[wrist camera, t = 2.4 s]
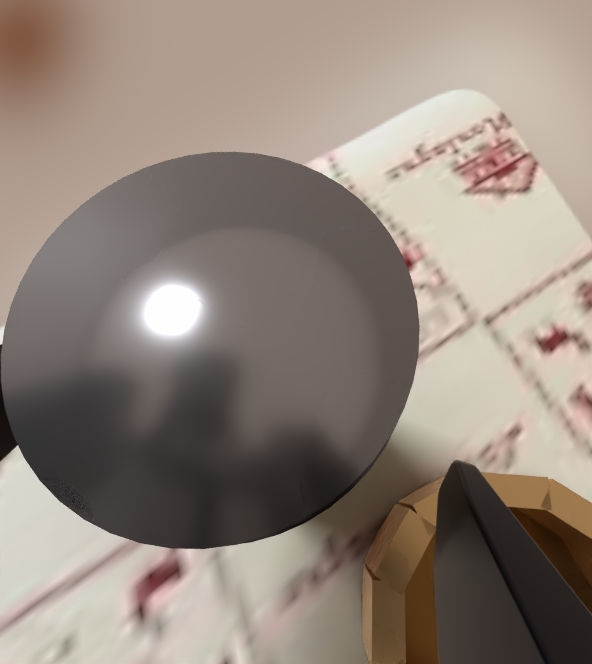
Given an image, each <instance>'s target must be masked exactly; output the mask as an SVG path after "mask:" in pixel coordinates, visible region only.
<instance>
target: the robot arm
mask: <svg viewBox="0 0 592 664" xmlns="http://www.w3.org/2000/svg"><path fill="white" fill-rule="evenodd" d="M1 351H2V345H0V461H1V460H3V459H4V458H5V457H6V456H7V455H8V454H9V453H10V452H11V451H12V450H13V449H14V448H15V447H16V446H17V445H18V444H17V442H16V440H15V437H14V435H13V433H12V430H11V427H10V423H9V420H8V417H7V413H6V410H5V406H4V399H3V392H2V385H1ZM434 585H435V603H436V621H437V639H438V657H439V664H592V614H591V613H590V612H589V610H588V609H587V608H586V606H585V605H584V604H583V603H582V601H581V600H580V599H579V598H578V596H577V595H576V594H575V592H574V591H573V590H572V589H571V587H570V586H569V585H568V584H567V582H566V581H565V580H564V578H563V577H562V576H561V575H560V573H559V572H558V571H557V569H556V568H555V567H554V566H553V564H552V563H551V562H550V561H549V559H548V558H547V557H546V555H545V554H544V553H543V552H542V550H541V549H540V548H539V546H538V545H537V544H536V543H535V541H534V540H533V539H532V538H531V536H530V535H529V534H528V532H527V531H526V530H525V529H524V527H523V526H522V525H521V524H520V522H519V521H518V520H517V518H516V517H515V516H514V515H513V513H512V512H511V511H510V509H509V508H508V507H507V506H506V504H505V503H504V502H503V501H502V499H501V498H500V497H499V495H498V494H497V493H496V492H495V490H494V489H493V488H492V486H491V485H490V484H489V483H488V481H487V480H486V479H485V478H484V476H483V475H482V474H481V472H480V471H479V470H478V469H477V468H476V466H474V465H472V464H469V463H466V462H463V461H459V460H455V461H454V462H453V463H452V464H451V466H450V468H449V470H448V472H447V474H446V476H445V478H444V480H443V482H442V484H441V486H440V489H439V492H438V501H437V518H436V534H435V550H434Z"/></svg>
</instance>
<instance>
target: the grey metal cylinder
mask: <svg viewBox="0 0 592 664" xmlns="http://www.w3.org/2000/svg"><path fill="white" fill-rule="evenodd" d="M418 351H419V318H418V308H417V300H416V296H415V292H414V288H413V284H412V280H411V276H410V274H409V271H408V269H407V266H406V264H405V261H404V259H403V256H402V254H401V252H400V250H399V249H398V247H397V245H396V244H395V242H394V240H393V238H392V237H391V235H390V233H389V232H388V231H387V229H386V228H385V227H384V225H383V224H382V223H381V222H380V220H379V219H378V218H377V216H376V215H375V214H374V213H373V212H372V211H371V210H370V209H369V208H368V207H367V206H366V205H365V204H364V203H363V202H362V201H361V200H360V199H359V198H357V197H356V196H355V195H354V194H352V193H351V192H350V191H348V190H347V189H346V188H344V187H343V186H342V185H340V184H339V183H337V182H335V181H333V180H332V179H330V178H328V177H327V176H325V175H323V174H322V173H319V172H317V171H315V170H312V169H310V168H308V167H306V166H303V165H301V164H297V163H294V162H291V161H288V160H285V159H281V158H278V157H272V156H266V155H262V154H255V153H242V152H213V153H212V152H211V153H205V154H196V155H189V156H184V157H180V158H176V159H171V160H167V161H164V162H161V163H158V164H155V165H152V166H149V167H146V168H143V169H141V170H139V171H137V172H135V173H133V174H130V175H128V176H126V177H124V178H122V179H120V180H118V181H117V182H115V183H113V184H112V185H110V186H108V187H106V188H105V189H103V190H102V191H100V192H99V193H97V194H96V195H95V196H93V197H92V198H90V199H89V200H88V201H86V202H85V203H84V204H82V205H81V206H80V207H79V208H78V209H77V210H76V211H74V212H73V213H72V214H71V215H70V216H69V217H68V218H67V219H66V220H64V222H63V223H62V224H61V225H60V226H59V227H58V228H57V230H55V232H54V233H53V234H52V235H51V236H50V237H49V238H48V239H47V241H46V242H45V244H44V245H43V246H42V248H41V249H40V251H39V252H38V253H37V255H36V256H35V258H34V259H33V260H32V262H31V264H30V266H29V268H28V269H27V272H26V273H25V275H24V277H23V278H22V281H21V282H20V285H19V287H18V290H17V292H16V294H15V297H14V299H13V302H12V304H11V307H10V311H9V315H8V318H7V322H6V326H5V329H4V336H3V344H2V351H1V385H2V392H3V399H4V406H5V410H6V413H7V417H8V420H9V423H10V427H11V430H12V433H13V435H14V437H15V440H16V442H17V444H18V446H19V448H20V450H21V452H22V454H23V456H24V458H25V460H26V461H27V463H28V464H29V465H30V467H31V468H32V470H33V471H34V473H35V474H36V476H37V477H38V478H39V480H40V481H41V482H42V483H43V484H44V485H45V486H46V487H47V488H48V489H49V490H50V492H51V493H52V494H53V495H54V496H55V497H56V498H57V499H58V500H59V501H60V502H61V503H63V504H64V505H65V506H67V507H68V508H70V509H71V510H72V511H74V512H75V513H76V514H78V515H79V516H80V517H82V518H83V519H84V520H86V521H88V522H90V523H92V524H94V525H96V526H98V527H100V528H102V529H104V530H106V531H107V532H109V533H112V534H115V535H118V536H121V537H124V538H127V539H130V540H133V541H136V542H139V543H143V544H149V545H155V546H161V547H167V548H185V549H206V548H214V547H222V546H229V545H237V544H242V543H249V542H254V541H257V540H261V539H264V538H268V537H271V536H275V535H278V534H281V533H283V532H285V531H288V530H290V529H292V528H294V527H297V526H299V525H301V524H303V523H306V522H307V521H309V520H310V519H312V518H314V517H315V516H317V515H318V514H320V513H322V512H323V511H325V510H326V509H328V508H330V507H331V506H332V505H333V504H334V503H336V502H337V501H338V500H339V499H340V498H342V497H343V496H344V495H345V494H346V493H348V492H349V491H350V490H351V489H352V488H353V487H354V486H355V485H356V484H357V483H358V482H359V481H360V479H361V478H362V477H363V476H364V475H365V474H366V473H367V472H368V471H369V470H370V468H371V467H372V465H373V464H374V462H375V461H376V460H377V458H378V457H379V455H380V454H381V452H382V451H383V449H384V448H385V446H386V445H387V443H388V441H389V439H390V437H391V434H392V432H393V430H394V428H395V426H396V424H397V422H398V420H399V418H400V416H401V414H402V412H403V410H404V407H405V404H406V401H407V398H408V395H409V392H410V389H411V386H412V384H413V380H414V375H415V369H416V364H417V358H418Z"/></svg>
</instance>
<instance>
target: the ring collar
mask: <svg viewBox="0 0 592 664" xmlns="http://www.w3.org/2000/svg"><path fill="white" fill-rule="evenodd" d="M481 474H482V475H483V476H484V478H485V479H486V480H487V481H488V483H489V484H490V485H491V486H492V488H493V489H494V490H495V492H496V493H497V494H498V495H499V497H500V498H501V499H502V501H503V502H504V503H505V504H506V506H507V507H508V508H509V509H510V511H511V512H512V513H513V515H514V516H515V517H516V518H517V520H518V521H519V522H520V524H521V525H522V526H523V527H524V529H525V530H526V531H527V532H528V534H529V535H530V536H531V538H532V539H533V540H534V541H535V543H536V544H537V545H538V546H539V548H540V549H541V550H542V552H543V553H544V554H545V555H546V557H547V558H548V559H549V561H550V562H551V563H552V564H553V566H554V567H555V568H556V569H557V571H558V572H559V573H560V575H561V576H562V577H563V578H564V580H565V581H566V582H567V584H568V585H569V586H570V587H571V589H572V590H573V591H574V592H575V594H576V595H577V596H578V598H579V599H580V600H581V601H582V603H583V604H584V605H585V606H586V608H587V609H588V610H589V612H590V613H591V614H592V503H591V502H589V501H587V500H586V499H584V498H582V497H581V496H579V495H578V494H576V493H574V492H573V491H571V490H570V489H568V488H566V487H565V486H563V485H561V484H560V483H558V482H557V481H555V480H553V479H548V477H535V476H522V475H508V474H495V473H482V472H481ZM445 476H446V475H445ZM445 476H443V477H441V478H439V479H438V480H436V481H433V482H431V483H428V484H426V485H424V486H422V487H420V488H418V489H417V490H415V491H414V492H412V493H410V494H409V495H408V496H406V497H404V498H402V499H400V500H399V501H398V502H399V503H398V504H395V505H394V507H393V508H392V510H391V512H390V513H389V515H388V516H387V517H386V519H385V520H384V522H383V523H382V525H381V526H380V528H379V529H378V531H377V534H376V536H375V538H374V540H373V542H372V544H371V547H370V550H369V551H368V553H367V555H366V557H365V561H366V564H363V581H362V594H361V600H362V639H363V644H364V648H365V651H366V655H367V658H368V662H369V664H439V657H438V639H437V621H436V603H435V585H434V550H435V534H436V518H437V501H438V492H439V489H440V486H441V484H442V482H443V480H444V478H445Z"/></svg>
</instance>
